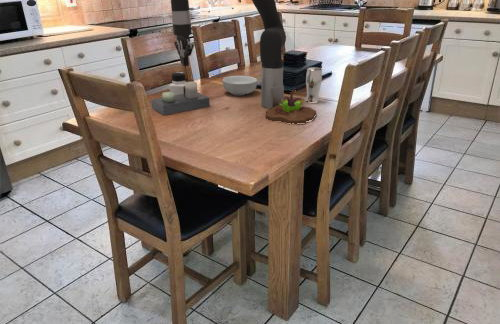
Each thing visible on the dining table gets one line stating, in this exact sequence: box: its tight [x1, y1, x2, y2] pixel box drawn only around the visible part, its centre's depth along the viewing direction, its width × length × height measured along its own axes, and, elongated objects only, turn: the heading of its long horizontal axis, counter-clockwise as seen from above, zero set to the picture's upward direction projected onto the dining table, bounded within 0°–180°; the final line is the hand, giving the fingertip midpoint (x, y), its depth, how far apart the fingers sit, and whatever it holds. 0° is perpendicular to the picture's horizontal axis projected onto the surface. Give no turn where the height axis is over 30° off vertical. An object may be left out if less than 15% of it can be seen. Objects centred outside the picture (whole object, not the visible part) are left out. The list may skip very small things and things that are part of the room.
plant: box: [264, 89, 317, 124], centre depth 165 cm, size 20×20×11 cm
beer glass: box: [305, 66, 323, 102], centre depth 183 cm, size 7×7×15 cm
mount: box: [150, 92, 211, 116], centre depth 177 cm, size 12×22×4 cm, turn 125°
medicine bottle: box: [168, 71, 187, 95], centre depth 188 cm, size 7×7×12 cm
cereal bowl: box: [222, 75, 258, 96], centre depth 197 cm, size 17×17×7 cm
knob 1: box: [161, 91, 175, 103], centre depth 173 cm, size 5×5×7 cm
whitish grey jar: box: [185, 81, 199, 99], centre depth 178 cm, size 5×5×7 cm
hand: (185, 65), depth 171 cm, fingers closed
